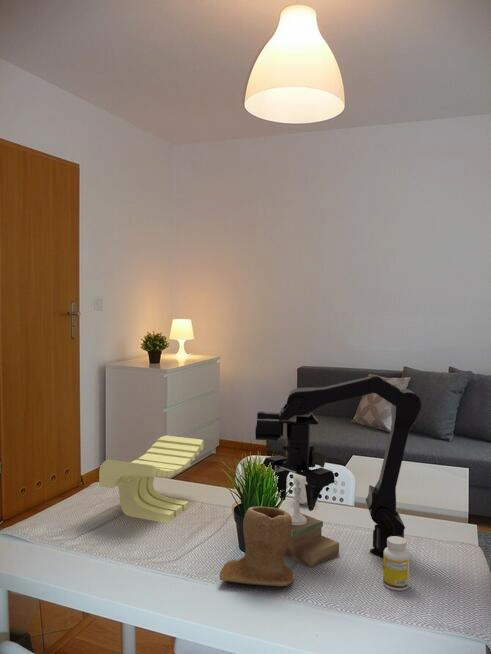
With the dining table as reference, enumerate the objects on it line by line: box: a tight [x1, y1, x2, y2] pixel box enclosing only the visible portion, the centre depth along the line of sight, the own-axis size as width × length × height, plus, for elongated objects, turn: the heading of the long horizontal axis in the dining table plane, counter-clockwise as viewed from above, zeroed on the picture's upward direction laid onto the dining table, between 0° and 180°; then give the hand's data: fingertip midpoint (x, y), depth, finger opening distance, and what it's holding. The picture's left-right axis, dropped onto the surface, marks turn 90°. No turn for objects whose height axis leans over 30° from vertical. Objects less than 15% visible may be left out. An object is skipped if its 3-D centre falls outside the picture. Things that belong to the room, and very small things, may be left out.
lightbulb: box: [292, 471, 308, 505], centre depth 169 cm, size 6×6×11 cm
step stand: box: [284, 512, 340, 568], centre depth 136 cm, size 13×10×6 cm
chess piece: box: [289, 480, 307, 525], centre depth 138 cm, size 5×5×10 cm
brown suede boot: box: [219, 506, 295, 587], centre depth 123 cm, size 15×12×15 cm
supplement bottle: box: [382, 536, 411, 591], centre depth 121 cm, size 5×5×10 cm
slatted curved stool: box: [98, 435, 204, 524], centre depth 162 cm, size 30×16×18 cm, turn 159°
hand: (296, 505), depth 138 cm, fingers open, 9 cm apart
